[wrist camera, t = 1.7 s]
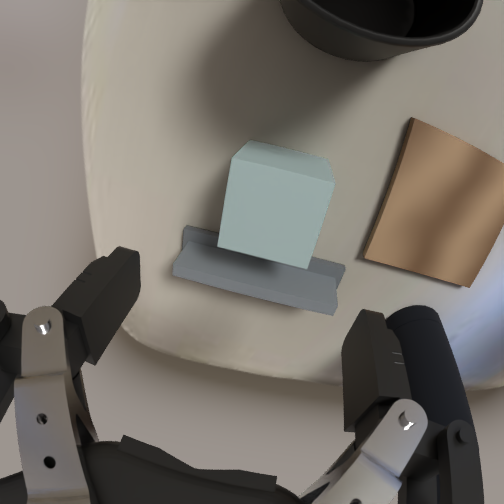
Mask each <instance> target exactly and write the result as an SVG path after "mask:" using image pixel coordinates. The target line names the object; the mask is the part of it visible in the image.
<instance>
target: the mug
mask: <svg viewBox="0 0 504 504" xmlns="http://www.w3.org/2000/svg"><path fill="white" fill-rule="evenodd" d="M280 3H281V5H282V8H283V11H284V13H285V15H286V17H287V19H288V21H289V22H290V24H291V25H292V26H293V27H294V29H295V30H296V31H297V32H298V33H299V34H300V35H301V36H302V37H303V38H304V39H305V40H307V41H308V42H309V43H311V44H312V45H314V46H315V47H317V48H319V49H321V50H322V51H324V52H326V53H329V54H331V55H334V56H337V57H340V58H343V59H347V60H354V61H377V60H382V59H386V58H390V57H393V56H397V55H400V54H404V53H408V52H411V51H415V50H419V49H423V48H427V47H431V46H435V45H440V44H443V43H446V42H448V41H451V40H453V39H455V38H457V37H459V36H460V35H462V34H463V33H465V32H466V31H467V30H468V29H469V28H470V27H471V26H472V25H473V23H474V22H475V21H476V19H477V17H478V15H479V14H480V11H481V8H482V4H483V0H280Z"/></svg>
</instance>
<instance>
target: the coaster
mask: <svg viewBox="0 0 504 504" xmlns="http://www.w3.org/2000/svg"><path fill="white" fill-rule="evenodd" d="M503 225H504V163H502V162H500V161H499V160H497V159H495V158H494V157H492V156H490V155H488V154H487V153H485V152H483V151H481V150H480V149H478V148H476V147H474V146H472V145H470V144H468V143H466V142H464V141H463V140H461V139H459V138H457V137H455V136H453V135H451V134H448V133H446V132H444V131H442V130H440V129H438V128H436V127H433V126H431V125H429V124H427V123H424V122H422V121H420V120H417V119H415V118H412V117H411V120H410V123H409V127H408V130H407V133H406V136H405V140H404V143H403V146H402V149H401V152H400V155H399V158H398V161H397V164H396V167H395V170H394V173H393V176H392V179H391V182H390V185H389V187H388V190H387V193H386V196H385V198H384V201H383V204H382V206H381V209H380V212H379V214H378V217H377V219H376V222H375V224H374V227H373V229H372V232H371V234H370V237H369V239H368V242H367V244H366V246H365V249H364V251H363V255H364V258H366V259H369V260H373V261H377V262H380V263H384V264H388V265H391V266H395V267H398V268H402V269H406V270H409V271H413V272H416V273H420V274H423V275H427V276H430V277H434V278H437V279H441V280H444V281H448V282H451V283H455V284H458V285H462V286H465V287H468V288H470V286H471V285H472V283H473V281H474V280H475V278H476V276H477V274H478V273H479V271H480V269H481V267H482V266H483V264H484V262H485V260H486V258H487V257H488V255H489V253H490V251H491V249H492V247H493V245H494V243H495V241H496V239H497V237H498V235H499V233H500V231H501V229H502V227H503Z"/></svg>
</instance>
